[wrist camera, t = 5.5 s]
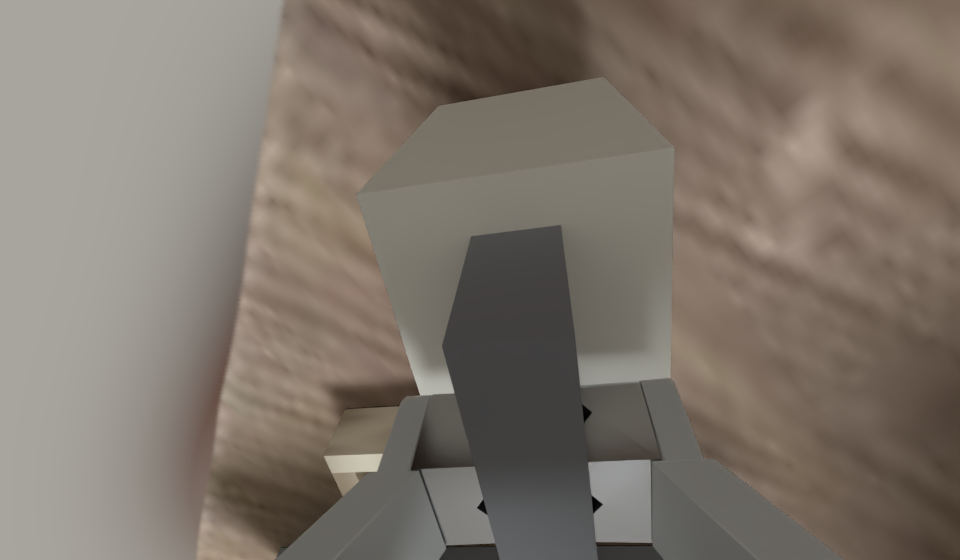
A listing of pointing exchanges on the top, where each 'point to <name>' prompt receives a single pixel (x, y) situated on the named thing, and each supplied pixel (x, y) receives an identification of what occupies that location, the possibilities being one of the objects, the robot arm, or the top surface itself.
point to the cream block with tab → (529, 285)
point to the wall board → (608, 556)
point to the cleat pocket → (359, 444)
